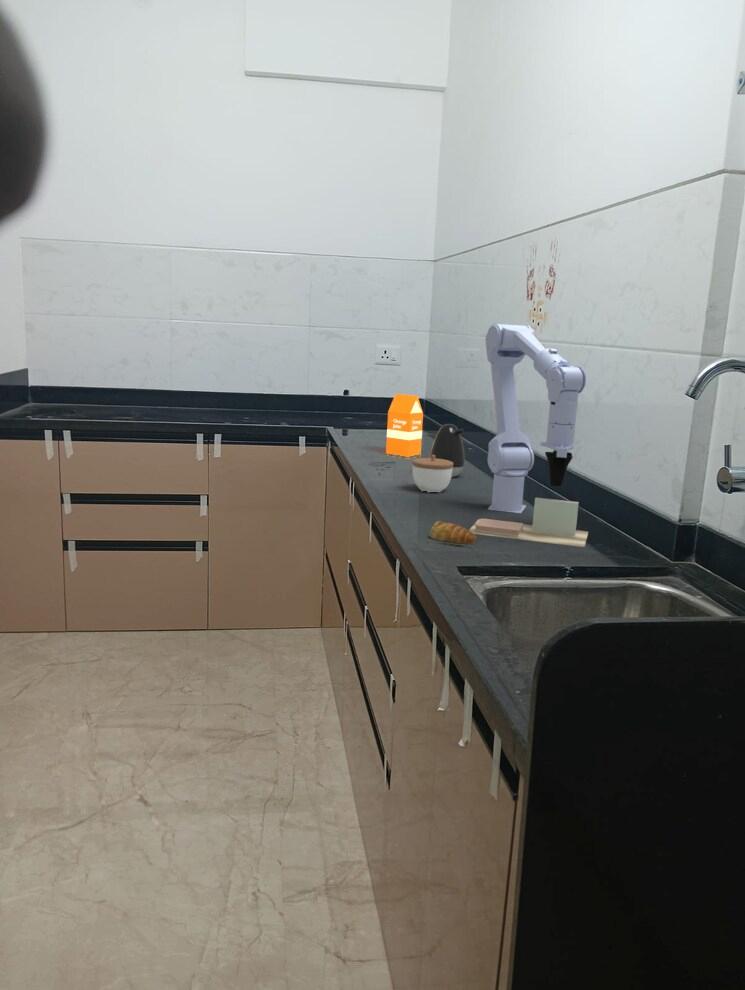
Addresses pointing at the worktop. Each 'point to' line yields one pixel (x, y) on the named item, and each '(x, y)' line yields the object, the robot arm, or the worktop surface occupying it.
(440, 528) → the pastry
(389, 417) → the orange juice
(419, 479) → the lidded jar
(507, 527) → the tile
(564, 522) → the tile
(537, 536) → the board
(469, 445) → the worktop surface
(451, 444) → the penguin figurine
